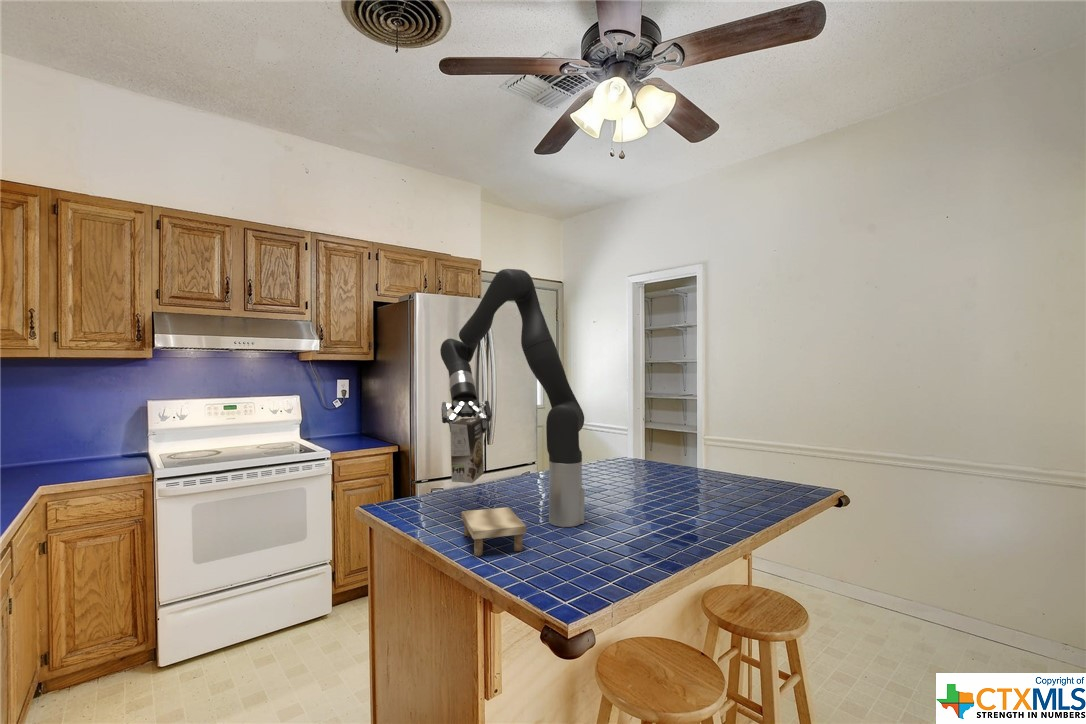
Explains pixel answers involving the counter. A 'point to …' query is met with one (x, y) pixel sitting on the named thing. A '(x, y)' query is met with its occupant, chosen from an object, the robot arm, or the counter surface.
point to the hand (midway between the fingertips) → (469, 432)
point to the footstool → (493, 526)
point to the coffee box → (467, 450)
